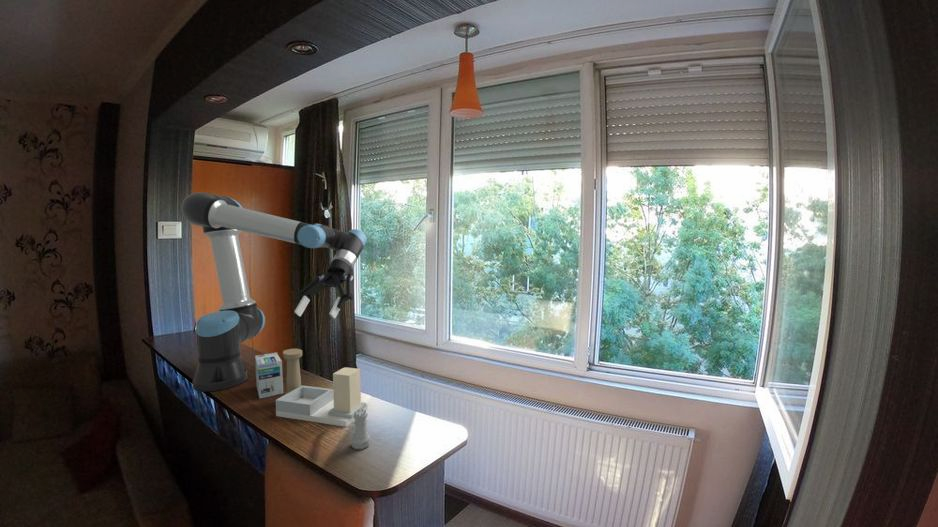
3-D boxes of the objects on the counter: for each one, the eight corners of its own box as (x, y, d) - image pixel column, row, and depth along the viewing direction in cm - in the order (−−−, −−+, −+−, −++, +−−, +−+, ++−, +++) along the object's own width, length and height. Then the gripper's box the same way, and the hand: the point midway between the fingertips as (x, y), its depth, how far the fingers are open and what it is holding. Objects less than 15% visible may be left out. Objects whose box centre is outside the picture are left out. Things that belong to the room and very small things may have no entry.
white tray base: (276, 416, 96) (274, 371, 95) (302, 400, 106) (300, 359, 105) (348, 427, 90) (347, 379, 90) (369, 409, 100) (368, 366, 99)
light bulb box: (283, 393, 110) (282, 360, 109) (259, 399, 106) (257, 364, 106) (279, 382, 119) (277, 351, 118) (255, 387, 115) (254, 355, 114)
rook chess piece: (363, 452, 80) (362, 417, 79) (347, 448, 81) (346, 414, 81) (374, 441, 84) (374, 408, 83) (359, 437, 85) (358, 405, 85)
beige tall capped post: (289, 406, 101) (287, 355, 100) (281, 400, 106) (280, 351, 105) (306, 401, 105) (305, 352, 104) (298, 394, 109) (296, 347, 108)
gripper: (376, 272, 125) (353, 323, 112) (318, 271, 133) (290, 319, 120) (367, 258, 120) (341, 310, 107) (307, 258, 127) (276, 307, 114)
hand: (314, 315), depth 113 cm, fingers open, 13 cm apart
